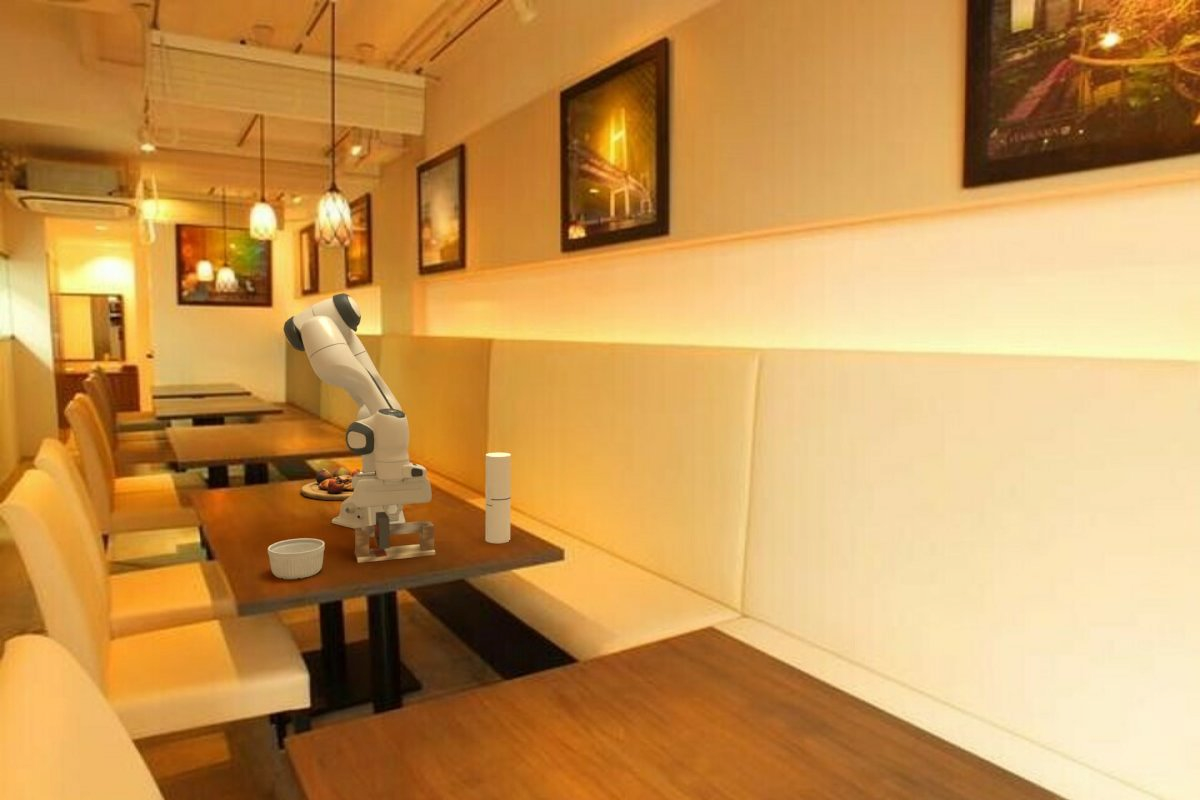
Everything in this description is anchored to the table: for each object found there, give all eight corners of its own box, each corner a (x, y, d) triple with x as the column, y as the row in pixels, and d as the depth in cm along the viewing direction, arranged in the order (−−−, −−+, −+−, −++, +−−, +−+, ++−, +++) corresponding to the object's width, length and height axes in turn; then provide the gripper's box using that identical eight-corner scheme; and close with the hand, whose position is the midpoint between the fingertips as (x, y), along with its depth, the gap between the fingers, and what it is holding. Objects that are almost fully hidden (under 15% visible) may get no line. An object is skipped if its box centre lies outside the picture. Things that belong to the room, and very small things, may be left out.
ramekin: (256, 576, 186) (255, 549, 186) (295, 561, 199) (294, 535, 198) (299, 584, 182) (298, 556, 181) (336, 568, 194) (336, 541, 193)
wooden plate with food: (360, 505, 260) (360, 481, 259) (281, 496, 268) (281, 473, 268) (409, 488, 290) (409, 466, 289) (336, 480, 299) (337, 460, 298)
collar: (379, 549, 200) (379, 519, 199) (376, 541, 207) (375, 512, 206) (389, 548, 201) (389, 518, 200) (385, 540, 208) (385, 511, 207)
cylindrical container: (505, 544, 217) (506, 457, 214) (481, 542, 218) (482, 456, 216) (513, 537, 224) (514, 453, 221) (490, 535, 225) (490, 451, 223)
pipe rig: (357, 562, 198) (357, 531, 197) (354, 554, 205) (354, 523, 205) (435, 554, 206) (435, 524, 205) (429, 546, 213) (429, 517, 212)
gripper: (352, 474, 196) (353, 527, 198) (432, 470, 204) (432, 520, 206) (350, 470, 202) (351, 521, 203) (428, 465, 210) (428, 514, 211)
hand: (392, 520), depth 205 cm, fingers closed
